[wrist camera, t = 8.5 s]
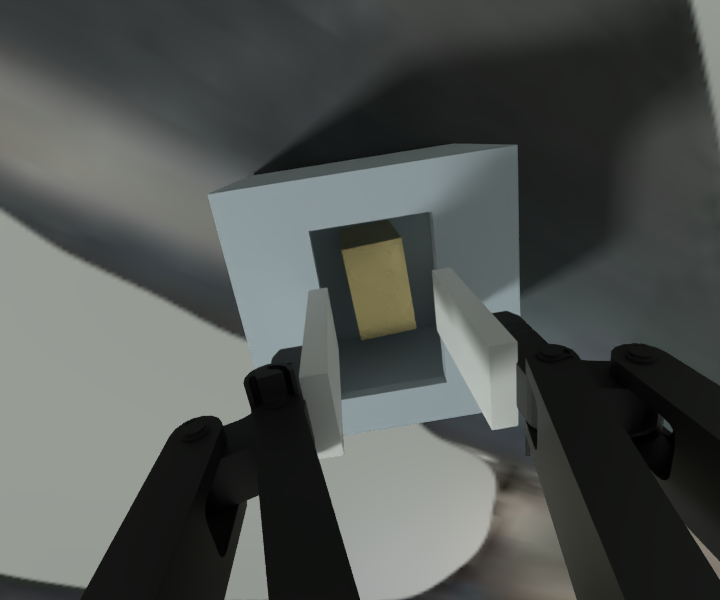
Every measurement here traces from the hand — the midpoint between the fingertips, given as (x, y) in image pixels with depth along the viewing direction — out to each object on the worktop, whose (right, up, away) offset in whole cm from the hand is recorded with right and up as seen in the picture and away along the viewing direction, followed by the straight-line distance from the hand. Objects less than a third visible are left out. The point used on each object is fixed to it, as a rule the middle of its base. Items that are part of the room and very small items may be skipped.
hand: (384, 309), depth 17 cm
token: (0, +3, +9) cm, 9 cm away
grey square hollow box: (-1, +3, +9) cm, 10 cm away
